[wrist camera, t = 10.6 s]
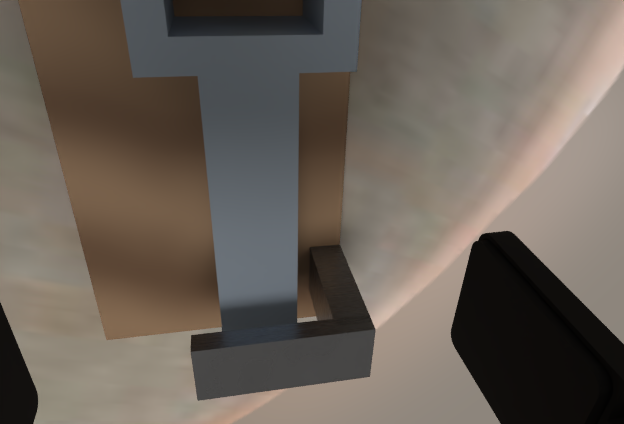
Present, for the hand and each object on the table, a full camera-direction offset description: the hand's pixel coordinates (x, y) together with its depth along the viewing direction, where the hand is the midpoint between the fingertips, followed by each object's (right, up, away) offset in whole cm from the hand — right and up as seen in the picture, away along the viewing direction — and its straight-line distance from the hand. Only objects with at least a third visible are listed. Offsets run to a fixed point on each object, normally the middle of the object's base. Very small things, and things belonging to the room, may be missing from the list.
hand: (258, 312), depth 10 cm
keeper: (-2, 0, +14) cm, 14 cm away
